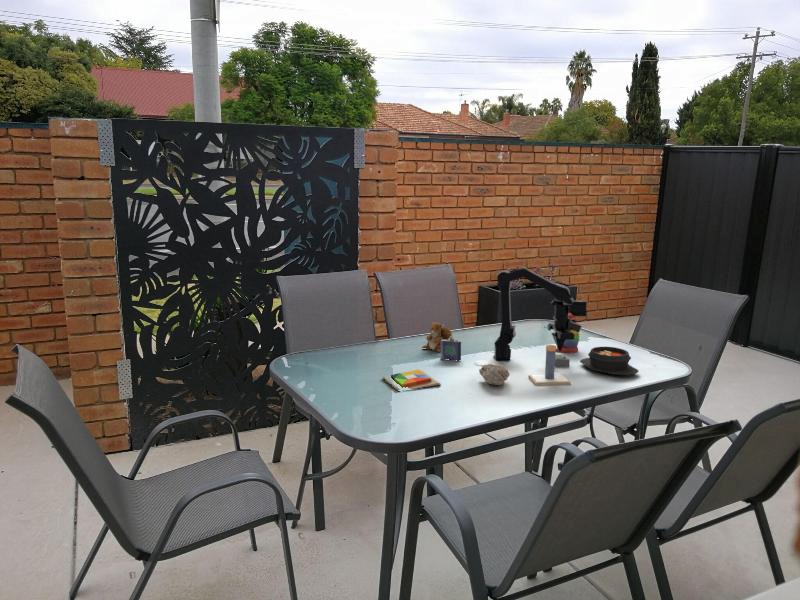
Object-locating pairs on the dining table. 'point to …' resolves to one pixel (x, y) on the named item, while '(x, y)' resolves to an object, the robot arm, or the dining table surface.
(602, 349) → the casserole
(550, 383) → the sketch pad
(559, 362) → the gray square hollow block
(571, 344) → the stacking bear
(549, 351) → the toy microphone
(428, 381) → the wooden puzzle
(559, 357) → the button
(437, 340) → the stuffed squirrel
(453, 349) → the dark blue box
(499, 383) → the pumice stone
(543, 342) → the dining table surface
